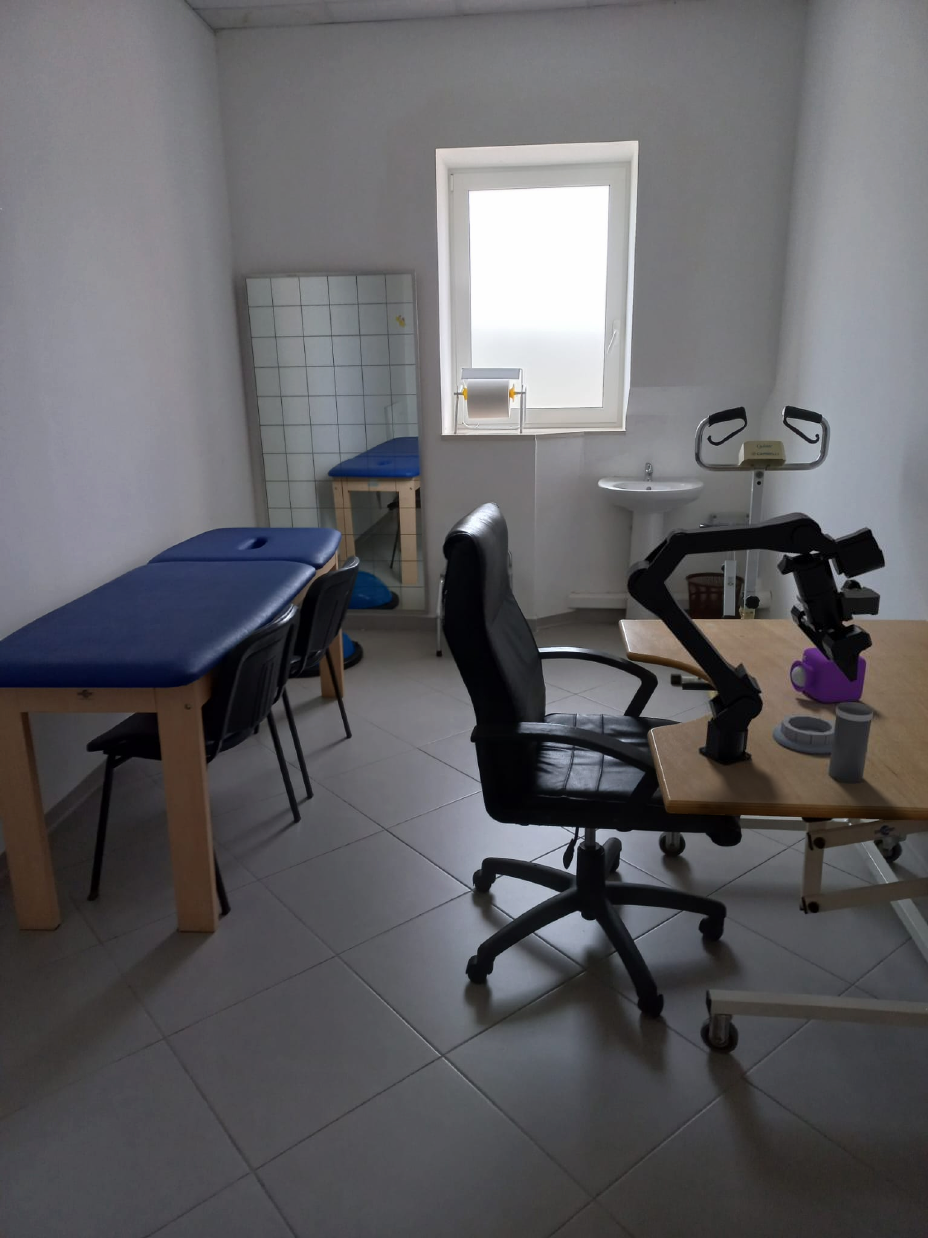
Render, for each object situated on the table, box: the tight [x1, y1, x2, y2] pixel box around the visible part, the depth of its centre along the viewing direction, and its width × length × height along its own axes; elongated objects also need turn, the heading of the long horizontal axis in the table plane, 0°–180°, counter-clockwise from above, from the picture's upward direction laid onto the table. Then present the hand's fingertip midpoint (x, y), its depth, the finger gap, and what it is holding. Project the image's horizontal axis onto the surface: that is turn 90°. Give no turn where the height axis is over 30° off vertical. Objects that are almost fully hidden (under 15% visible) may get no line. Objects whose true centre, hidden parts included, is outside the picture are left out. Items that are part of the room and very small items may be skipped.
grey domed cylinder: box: [827, 701, 874, 784], centre depth 138 cm, size 5×5×12 cm
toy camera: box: [789, 647, 867, 704], centre depth 173 cm, size 11×14×10 cm
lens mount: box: [772, 714, 835, 755], centre depth 153 cm, size 12×12×3 cm
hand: (841, 669), depth 142 cm, fingers open, 9 cm apart
